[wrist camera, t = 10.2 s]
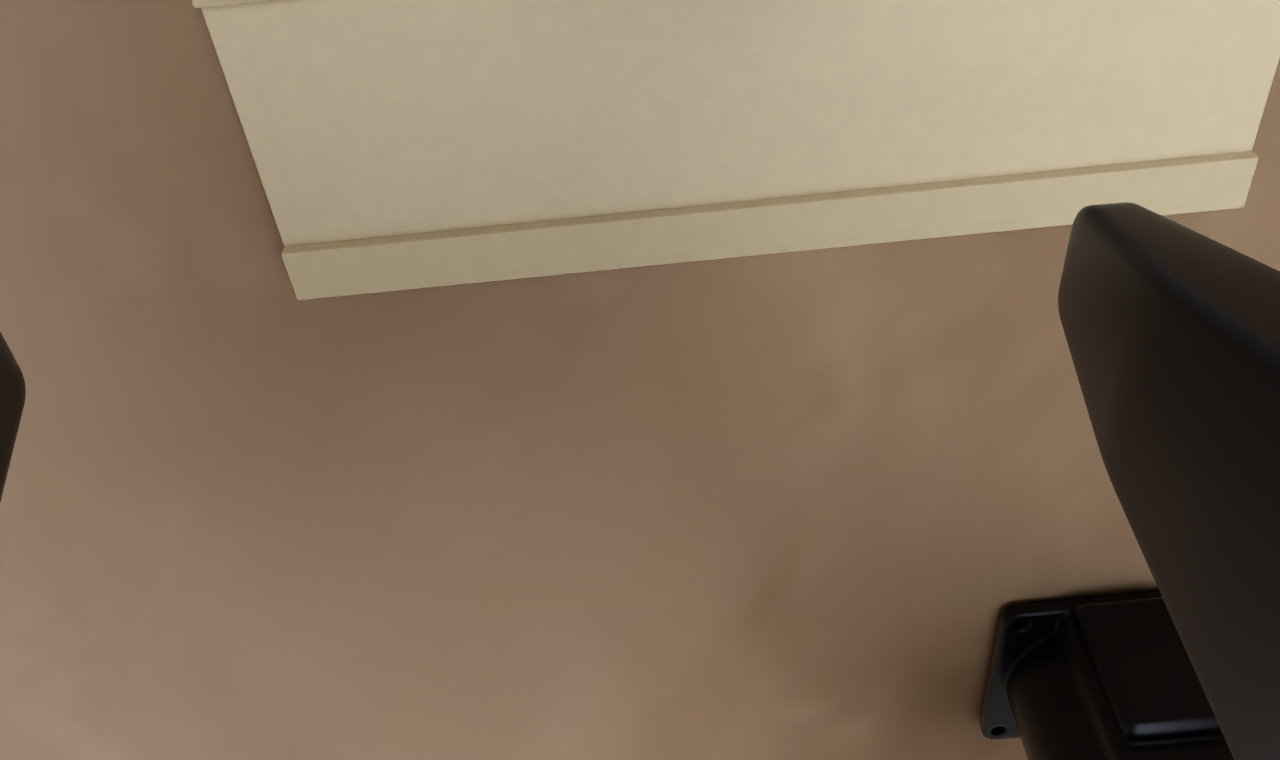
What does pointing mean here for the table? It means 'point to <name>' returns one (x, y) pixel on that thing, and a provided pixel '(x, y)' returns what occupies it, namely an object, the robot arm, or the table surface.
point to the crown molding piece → (722, 125)
